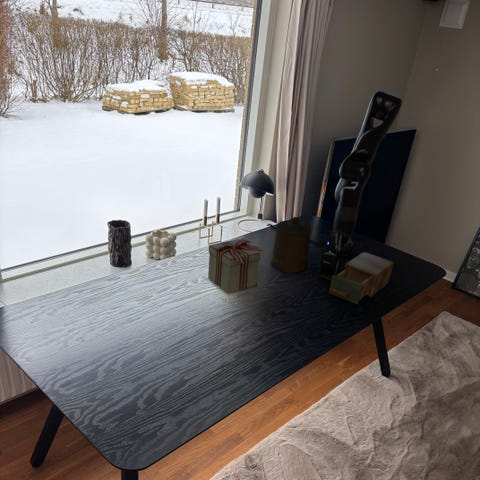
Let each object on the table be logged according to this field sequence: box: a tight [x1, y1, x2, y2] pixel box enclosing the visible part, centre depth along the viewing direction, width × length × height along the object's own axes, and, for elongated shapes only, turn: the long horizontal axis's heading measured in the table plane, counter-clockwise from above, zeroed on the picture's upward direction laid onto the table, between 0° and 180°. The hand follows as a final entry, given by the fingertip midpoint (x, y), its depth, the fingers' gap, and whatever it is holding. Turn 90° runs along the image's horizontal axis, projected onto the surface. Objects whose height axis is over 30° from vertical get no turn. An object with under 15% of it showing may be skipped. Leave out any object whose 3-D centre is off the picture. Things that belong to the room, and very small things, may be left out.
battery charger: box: [319, 252, 340, 283], centre depth 200 cm, size 7×4×11 cm, turn 49°
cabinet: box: [343, 251, 395, 298], centre depth 200 cm, size 17×14×10 cm
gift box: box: [207, 238, 264, 294], centre depth 191 cm, size 17×18×17 cm
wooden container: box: [271, 216, 312, 273], centre depth 207 cm, size 15×15×22 cm
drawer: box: [328, 267, 374, 305], centre depth 189 cm, size 22×13×8 cm, turn 141°
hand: (338, 259), depth 186 cm, fingers closed
